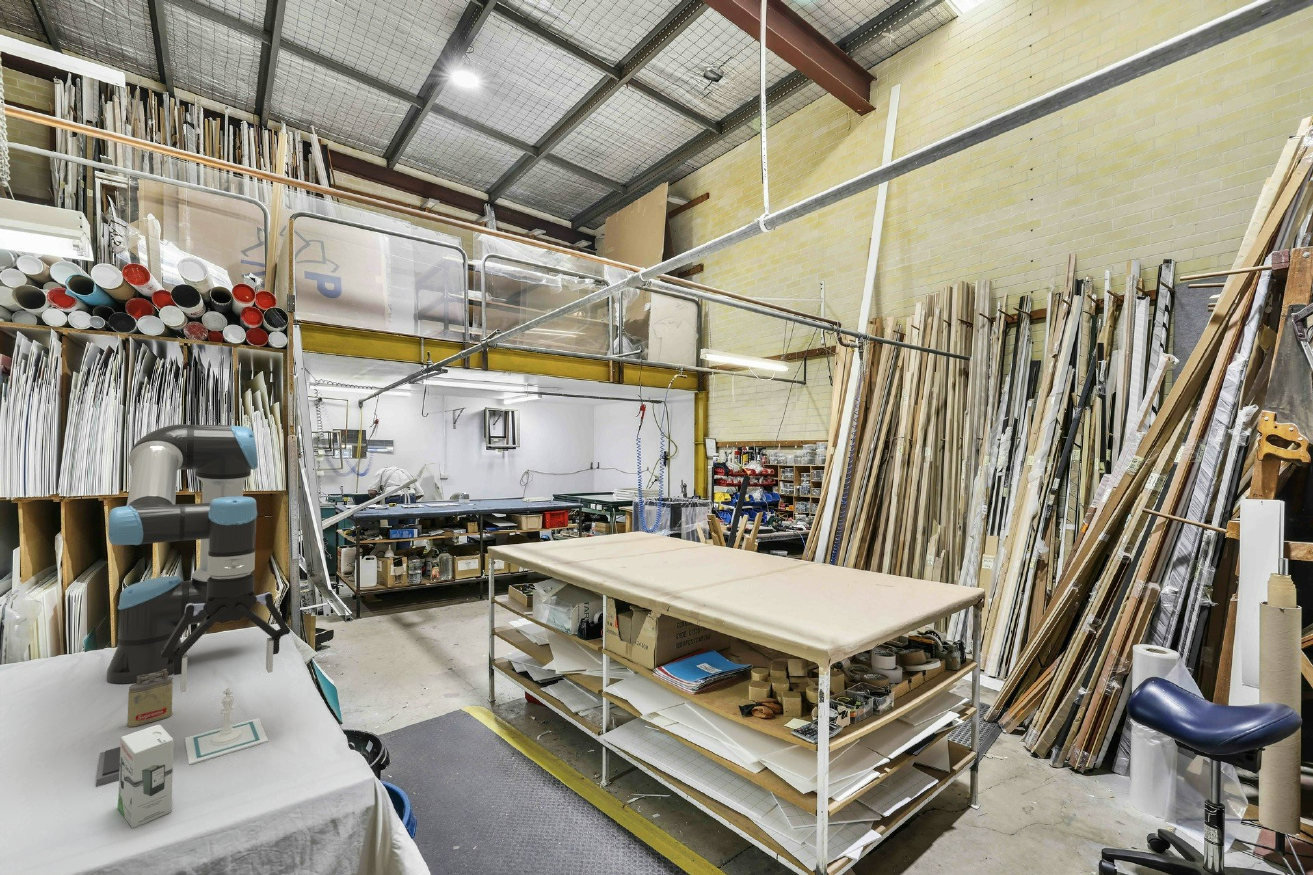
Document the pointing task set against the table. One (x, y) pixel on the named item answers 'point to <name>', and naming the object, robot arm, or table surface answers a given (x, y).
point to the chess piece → (226, 723)
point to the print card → (204, 750)
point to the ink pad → (108, 766)
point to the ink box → (145, 775)
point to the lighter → (150, 698)
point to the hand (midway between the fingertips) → (228, 679)
